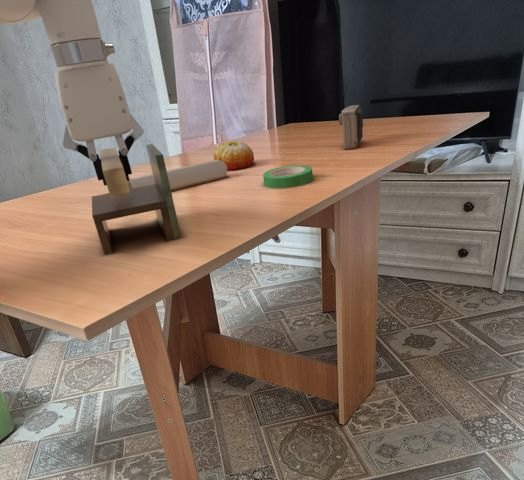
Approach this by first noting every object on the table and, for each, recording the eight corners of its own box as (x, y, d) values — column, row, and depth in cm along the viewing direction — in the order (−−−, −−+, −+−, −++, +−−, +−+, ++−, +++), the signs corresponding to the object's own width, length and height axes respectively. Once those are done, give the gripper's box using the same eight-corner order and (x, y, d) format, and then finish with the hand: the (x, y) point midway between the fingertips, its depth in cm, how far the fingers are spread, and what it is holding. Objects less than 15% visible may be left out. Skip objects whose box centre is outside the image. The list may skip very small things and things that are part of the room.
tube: (219, 159, 120) (125, 180, 111) (226, 154, 115) (129, 175, 106) (225, 181, 121) (132, 203, 112) (233, 176, 116) (136, 199, 107)
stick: (110, 198, 70) (102, 170, 68) (105, 172, 90) (99, 150, 88) (130, 194, 71) (123, 166, 69) (121, 169, 91) (115, 147, 88)
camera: (345, 142, 140) (344, 105, 134) (365, 141, 138) (365, 103, 132) (338, 150, 131) (337, 111, 125) (359, 149, 129) (359, 109, 124)
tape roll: (286, 192, 100) (285, 179, 98) (254, 186, 107) (253, 174, 106) (323, 179, 105) (322, 167, 104) (290, 175, 113) (289, 163, 111)
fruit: (207, 172, 126) (205, 140, 124) (227, 174, 135) (226, 144, 133) (243, 170, 121) (242, 136, 119) (261, 172, 130) (261, 141, 128)
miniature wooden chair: (105, 256, 78) (77, 170, 71) (103, 232, 91) (79, 156, 83) (182, 239, 81) (162, 154, 74) (169, 218, 93) (152, 143, 86)
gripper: (132, 50, 75) (160, 169, 85) (27, 65, 72) (68, 187, 82) (136, 47, 69) (166, 176, 79) (21, 64, 66) (67, 196, 76)
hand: (116, 180), depth 80 cm, fingers closed on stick, 3 cm apart
